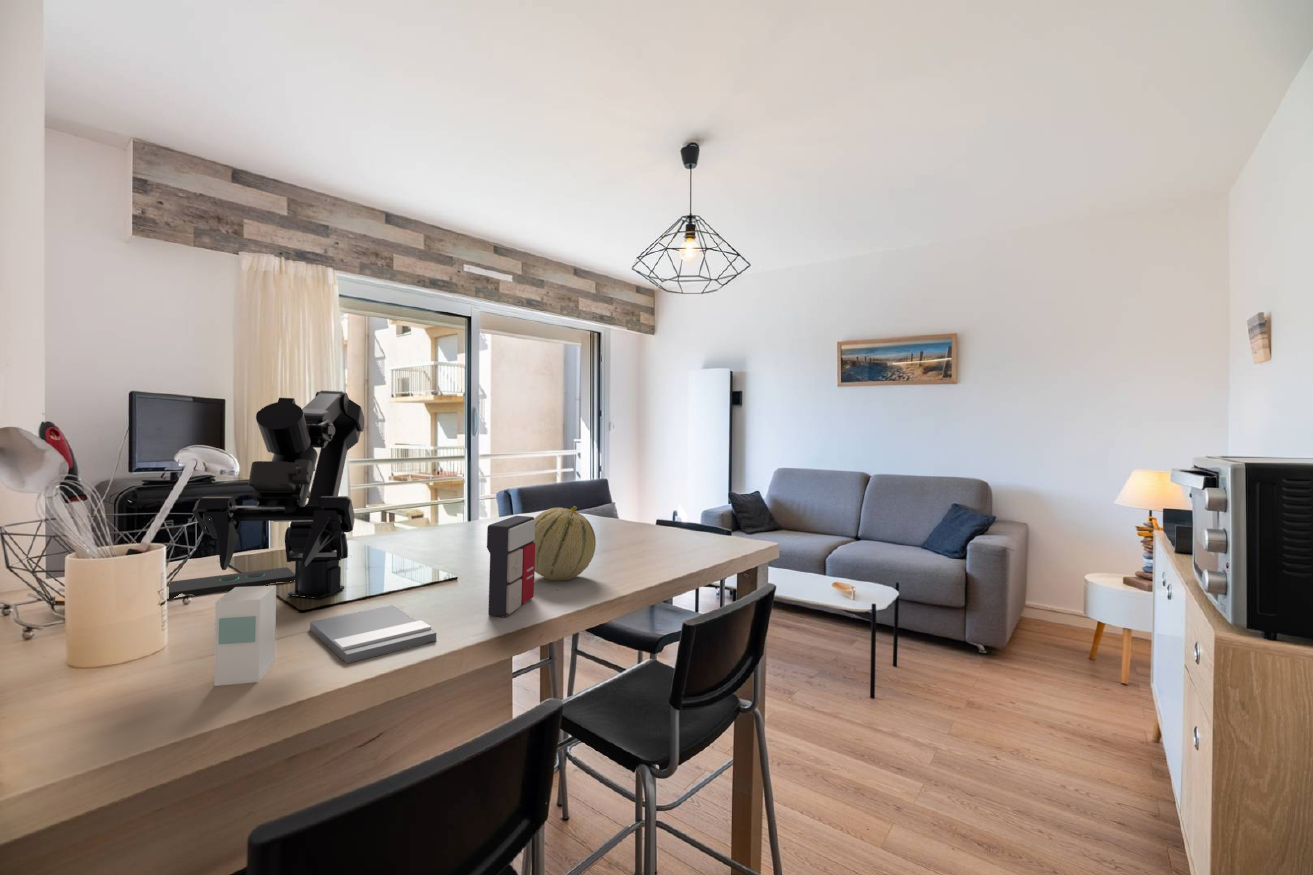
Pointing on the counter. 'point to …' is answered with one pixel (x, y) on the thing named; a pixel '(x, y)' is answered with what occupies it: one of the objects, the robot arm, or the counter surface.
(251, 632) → the block
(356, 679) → the counter surface
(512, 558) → the grey red panelled box
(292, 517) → the robot arm
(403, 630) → the grey flat rectangular slab
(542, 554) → the cantaloupe
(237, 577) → the smart home device
